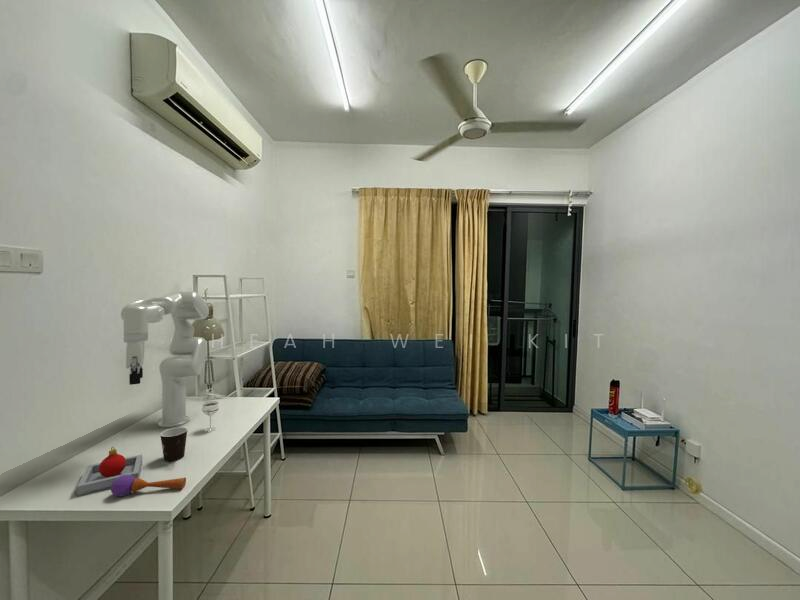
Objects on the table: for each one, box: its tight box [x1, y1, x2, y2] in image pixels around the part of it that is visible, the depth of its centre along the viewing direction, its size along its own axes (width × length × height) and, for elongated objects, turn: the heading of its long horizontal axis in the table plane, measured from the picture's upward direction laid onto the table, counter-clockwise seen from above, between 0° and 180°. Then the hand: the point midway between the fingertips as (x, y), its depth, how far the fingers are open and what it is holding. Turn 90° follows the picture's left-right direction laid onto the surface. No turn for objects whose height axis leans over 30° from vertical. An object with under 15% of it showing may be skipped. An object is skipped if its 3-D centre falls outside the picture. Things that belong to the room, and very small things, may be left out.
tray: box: [76, 454, 143, 497], centre depth 114 cm, size 15×15×3 cm
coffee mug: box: [159, 426, 188, 463], centre depth 127 cm, size 12×9×10 cm
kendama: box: [110, 475, 187, 497], centre depth 107 cm, size 6×6×20 cm
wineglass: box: [201, 400, 220, 432], centre depth 154 cm, size 7×7×12 cm
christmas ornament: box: [99, 446, 126, 477], centre depth 114 cm, size 7×7×10 cm
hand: (136, 381), depth 131 cm, fingers open, 9 cm apart
